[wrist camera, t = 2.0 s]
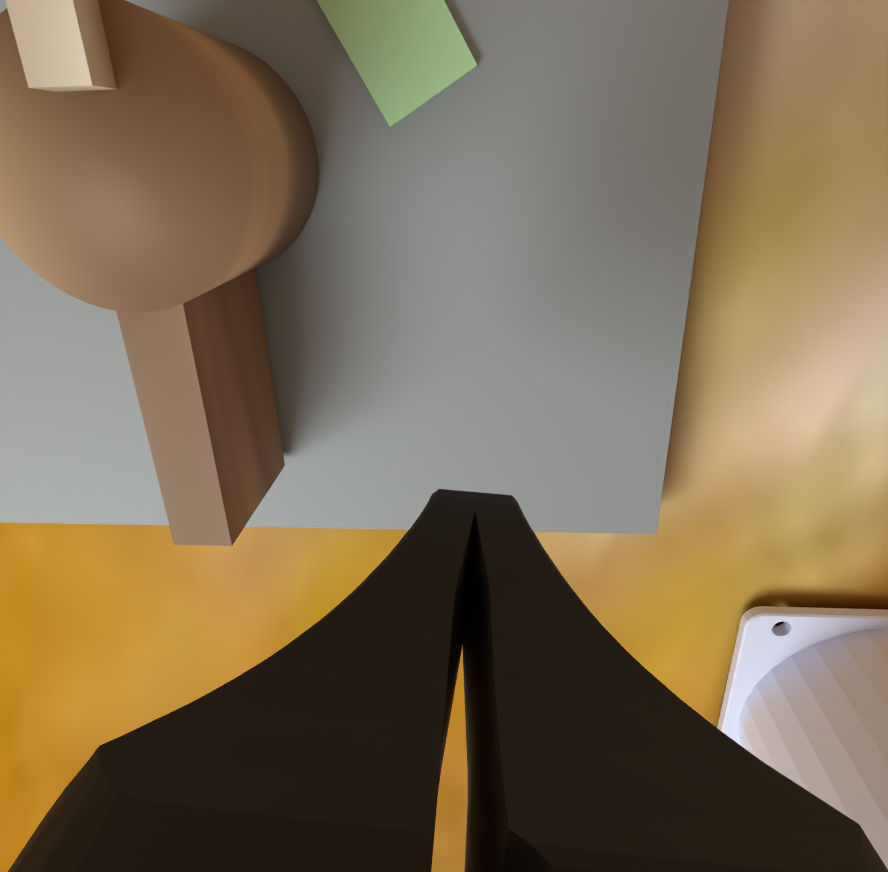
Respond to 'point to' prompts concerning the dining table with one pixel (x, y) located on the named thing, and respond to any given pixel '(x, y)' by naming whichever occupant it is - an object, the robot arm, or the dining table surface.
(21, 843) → the dining table surface
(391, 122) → the pale green tile
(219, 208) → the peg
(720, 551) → the dining table surface
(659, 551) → the dining table surface
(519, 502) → the grey board
